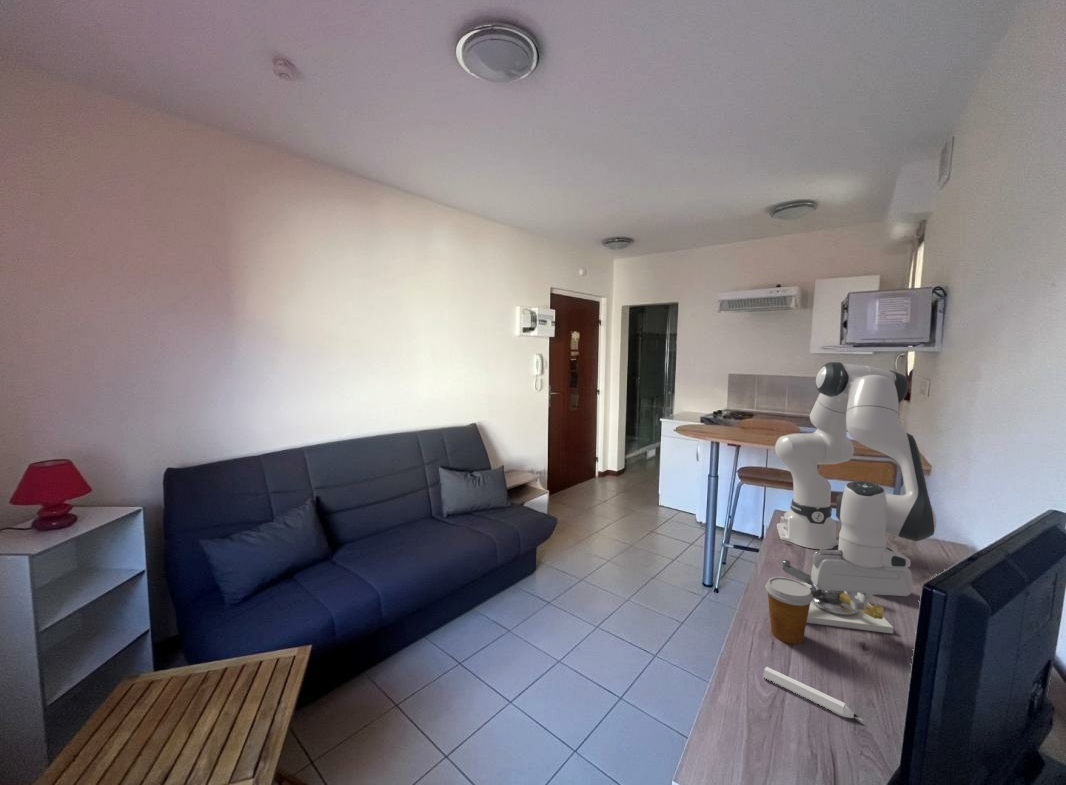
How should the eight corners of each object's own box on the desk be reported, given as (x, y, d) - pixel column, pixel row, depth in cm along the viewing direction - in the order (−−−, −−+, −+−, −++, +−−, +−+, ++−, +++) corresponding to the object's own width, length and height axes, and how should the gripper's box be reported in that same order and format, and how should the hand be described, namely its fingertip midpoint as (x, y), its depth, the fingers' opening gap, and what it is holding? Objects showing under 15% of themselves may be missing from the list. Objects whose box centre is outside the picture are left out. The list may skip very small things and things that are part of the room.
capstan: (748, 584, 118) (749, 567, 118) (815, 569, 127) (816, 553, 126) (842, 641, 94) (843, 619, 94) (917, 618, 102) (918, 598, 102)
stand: (774, 584, 122) (775, 572, 122) (854, 593, 117) (855, 580, 117) (798, 621, 104) (798, 607, 104) (893, 633, 100) (893, 618, 99)
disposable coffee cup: (819, 651, 94) (821, 599, 93) (772, 646, 95) (774, 594, 95) (800, 625, 103) (802, 577, 102) (758, 621, 105) (759, 574, 104)
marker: (862, 730, 75) (764, 681, 86) (864, 718, 76) (767, 671, 87) (862, 722, 74) (762, 673, 85) (864, 710, 75) (765, 664, 86)
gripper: (820, 554, 98) (817, 612, 99) (918, 561, 96) (915, 620, 96) (807, 543, 105) (804, 597, 105) (899, 549, 102) (895, 605, 103)
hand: (858, 608), depth 101 cm, fingers closed
